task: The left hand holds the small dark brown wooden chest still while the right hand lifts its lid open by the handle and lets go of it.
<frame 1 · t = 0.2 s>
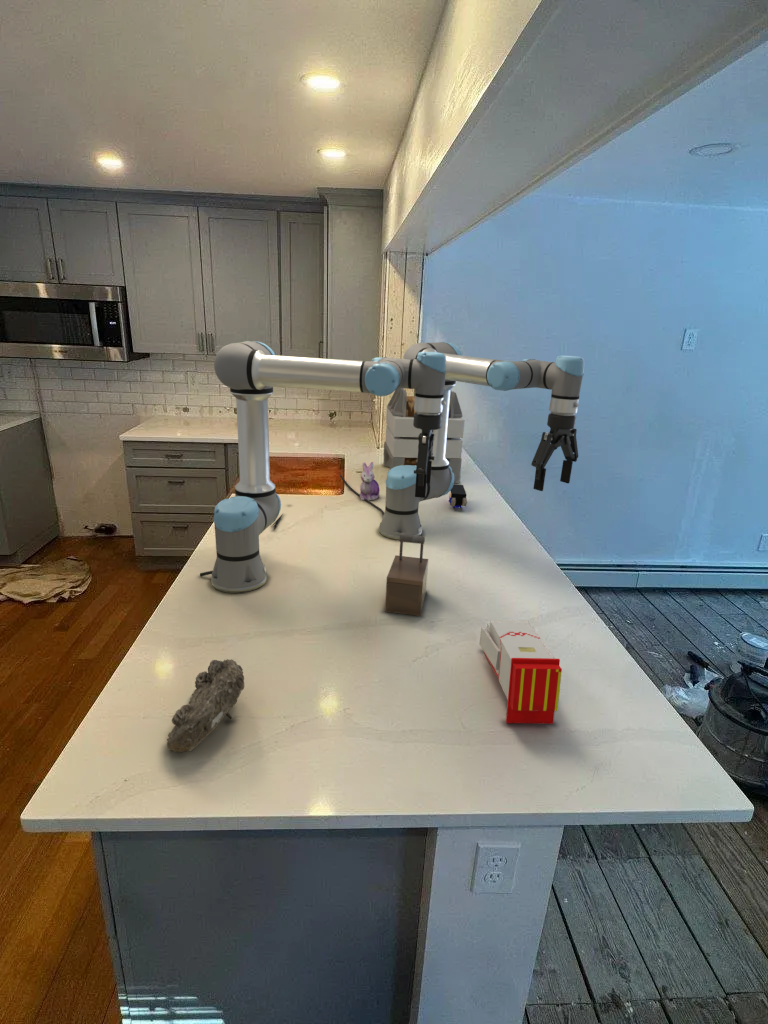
left hand: (422, 489, 157), 28 cm above the counter, tool pointing down, fingers open, 13 cm apart
right hand: (551, 486, 165), 28 cm above the counter, tool pointing down, fingers open, 13 cm apart
toy: (512, 681, 123), on the counter
chest: (406, 601, 154), on the counter
lid: (409, 557, 150), point 13 cm above the counter, hinge at 0.0°
fossil: (212, 717, 108), on the counter
figurine: (369, 498, 236), on the counter
feather: (281, 517, 210), on the counter
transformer: (419, 473, 275), on the counter
figurine character: (456, 506, 231), on the counter
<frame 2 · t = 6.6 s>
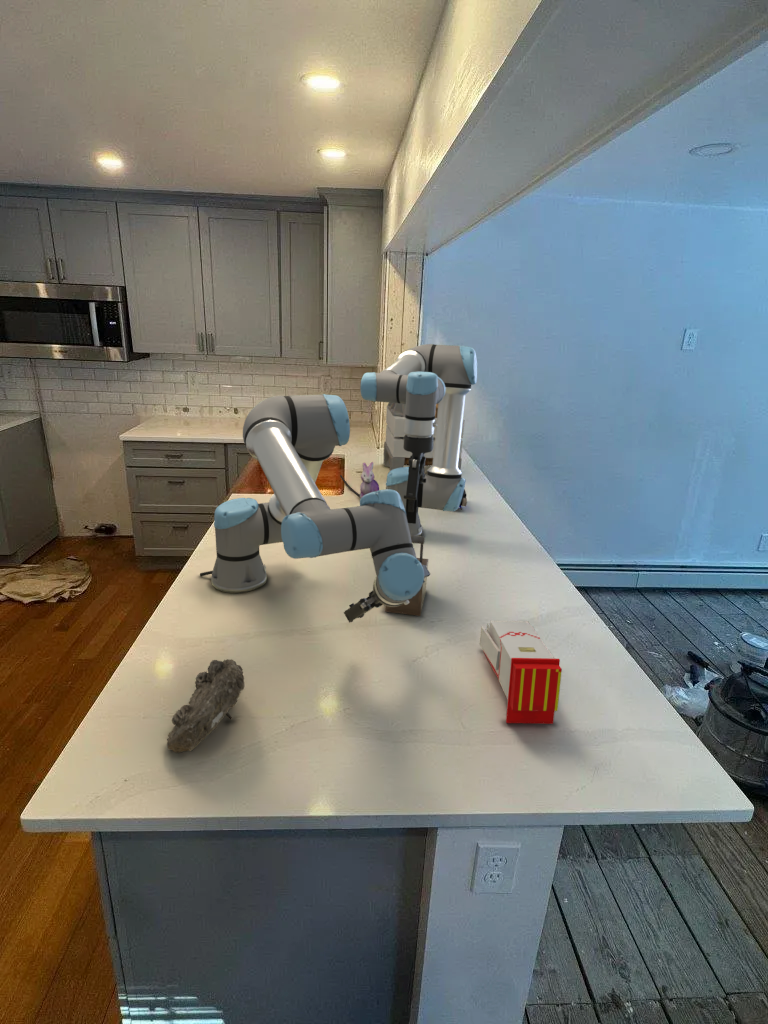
left hand: (384, 596, 128), 13 cm above the counter, tool tilted 55°, fingers open, 13 cm apart
right hand: (413, 514, 150), 24 cm above the counter, tool pointing down, fingers open, 13 cm apart
nothing on the counter moved.
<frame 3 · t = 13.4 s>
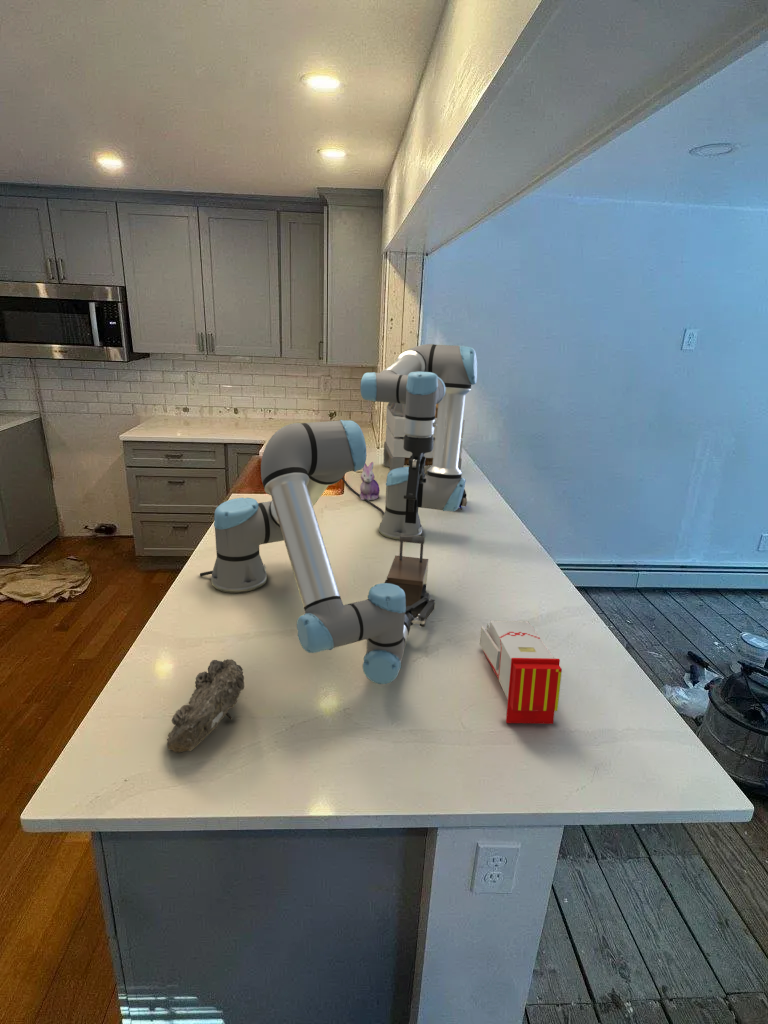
left hand: (405, 586, 148), 6 cm above the counter, tool horizontal, fingers closed on chest, 9 cm apart
right hand: (413, 514, 150), 24 cm above the counter, tool pointing down, fingers open, 13 cm apart
chest: (406, 601, 154), on the counter, touching left hand
everything else where it was.
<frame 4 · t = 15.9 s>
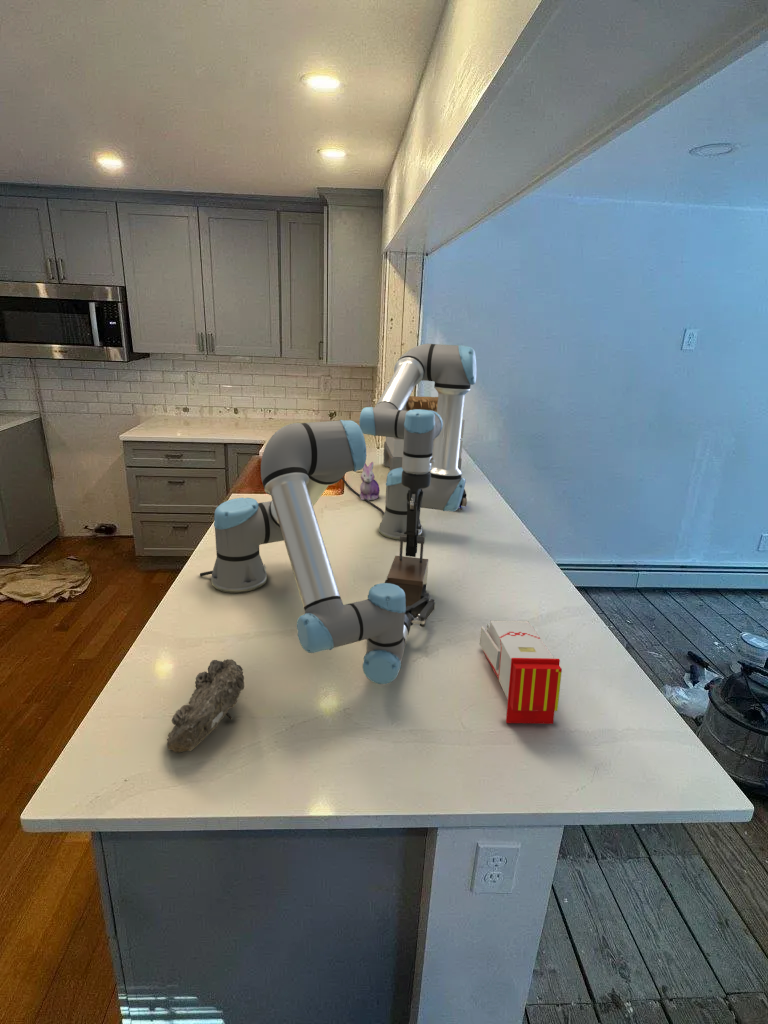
left hand: (405, 586, 148), 6 cm above the counter, tool horizontal, fingers closed on chest, 9 cm apart
right hand: (411, 553, 154), 12 cm above the counter, tool pointing down, fingers closed on lid, 2 cm apart
chest: (406, 601, 154), on the counter, touching left hand
lid: (409, 557, 150), point 13 cm above the counter, hinge at -0.1°, touching right hand
everything else where it was.
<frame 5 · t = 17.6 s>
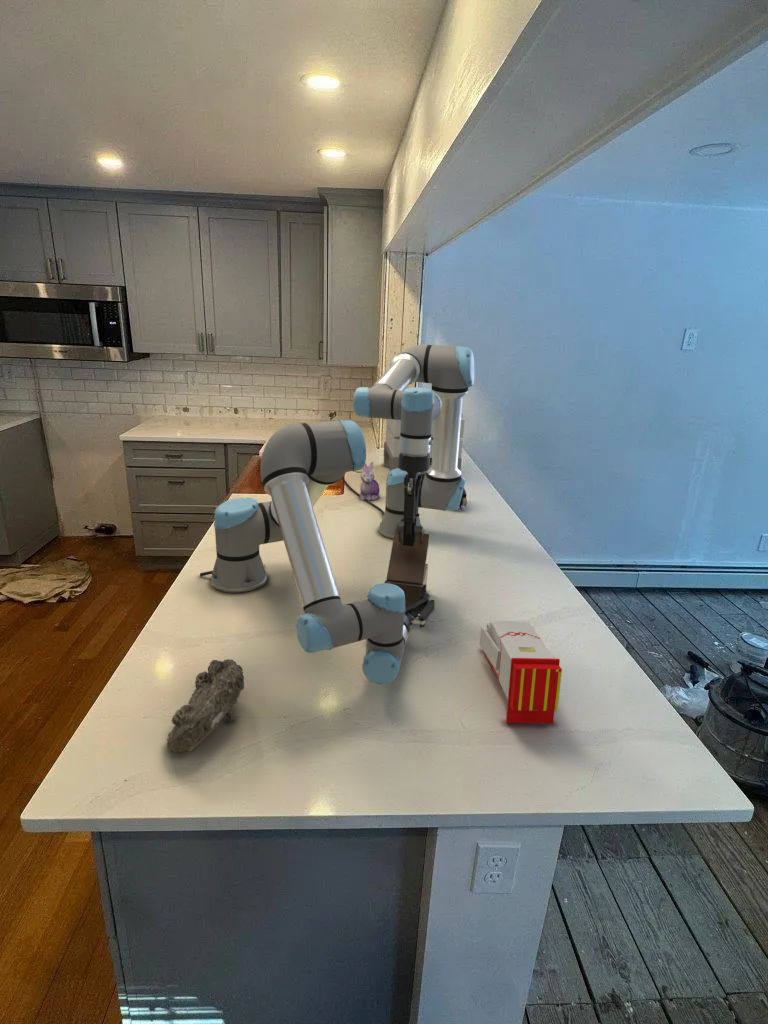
left hand: (405, 587, 148), 6 cm above the counter, tool horizontal, fingers closed on chest, 9 cm apart
right hand: (408, 543, 145), 18 cm above the counter, tool pointing down, fingers closed on lid, 2 cm apart
chest: (406, 601, 154), on the counter, touching left hand
lid: (407, 550, 145), point 17 cm above the counter, hinge at 39.5°, touching right hand
everything else where it was.
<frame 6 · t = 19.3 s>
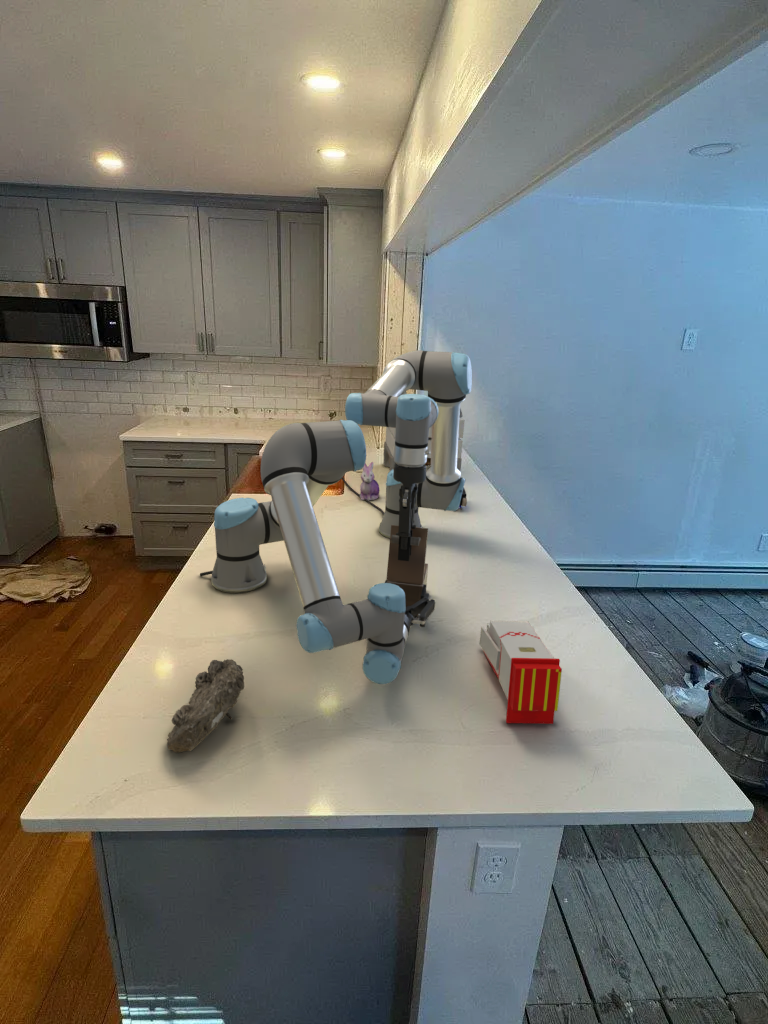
left hand: (405, 587, 148), 6 cm above the counter, tool horizontal, fingers closed on chest, 9 cm apart
right hand: (404, 556, 138), 18 cm above the counter, tool pointing down, fingers open, 3 cm apart
chest: (406, 601, 154), on the counter, touching left hand
lid: (405, 556, 140), point 17 cm above the counter, hinge at 74.1°
everything else where it was.
when the left hand's fingers open (6 cm above the counter, at t = 23.0 s): chest stays where it is, on the counter.
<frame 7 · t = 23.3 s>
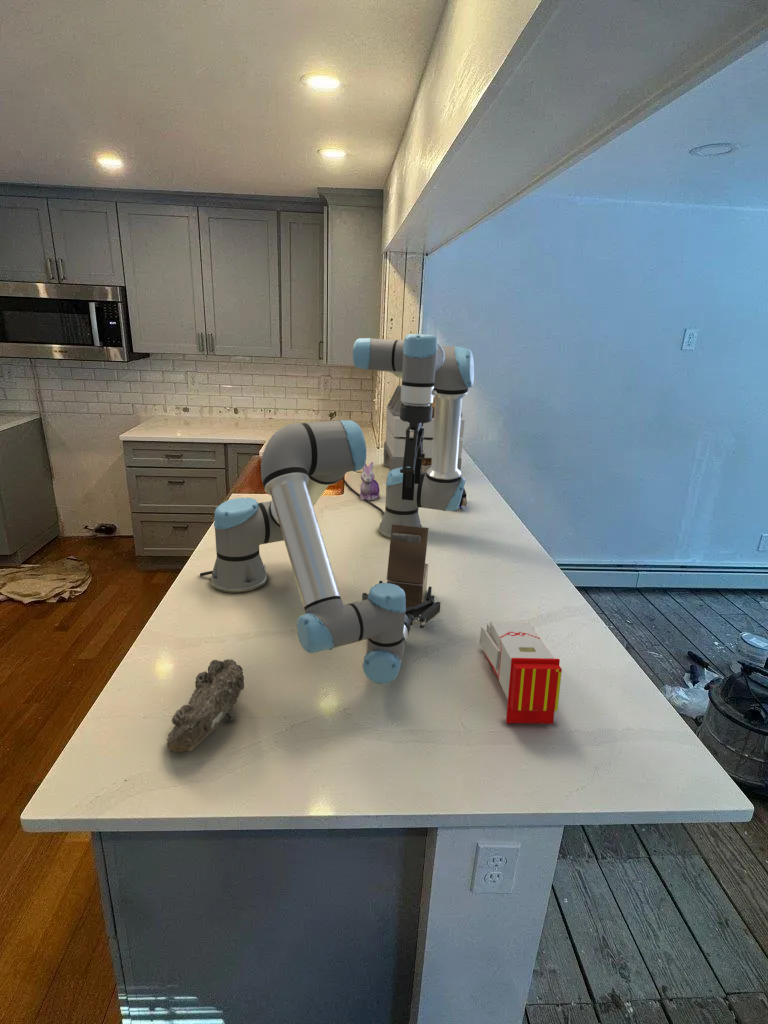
left hand: (405, 588, 148), 6 cm above the counter, tool horizontal, fingers open, 12 cm apart
right hand: (411, 491, 139), 33 cm above the counter, tool pointing down, fingers open, 13 cm apart
chest: (406, 601, 154), on the counter
lid: (405, 555, 141), point 17 cm above the counter, hinge at 72.2°
everything else where it was.
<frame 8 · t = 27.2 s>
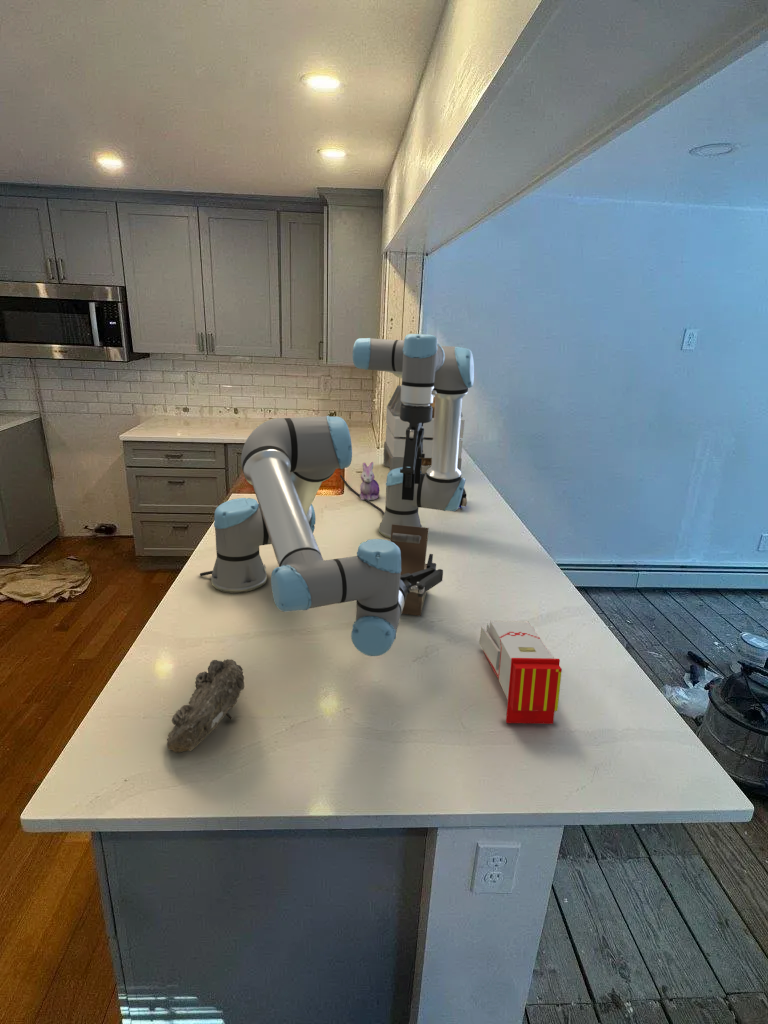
left hand: (401, 556, 131), 21 cm above the counter, tool horizontal, fingers open, 13 cm apart
right hand: (411, 491, 139), 33 cm above the counter, tool pointing down, fingers open, 13 cm apart
nothing on the counter moved.
at the end: lid at +72° (first picture: +0°); the left hand is holding nothing; the right hand is holding nothing; chest tilted 0°; chest never tilted more than 1° during the clip; chest moved 0.1 cm from its start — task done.
